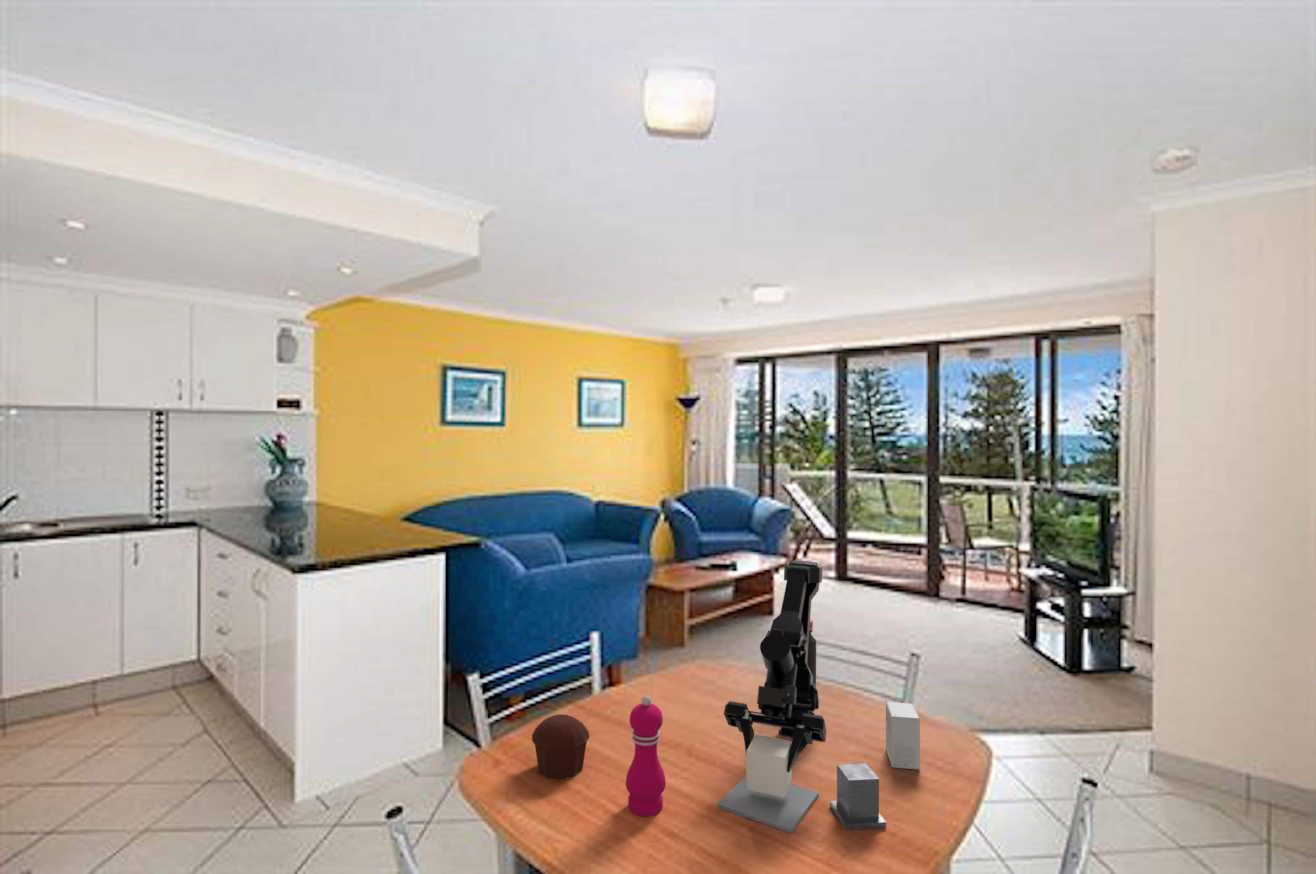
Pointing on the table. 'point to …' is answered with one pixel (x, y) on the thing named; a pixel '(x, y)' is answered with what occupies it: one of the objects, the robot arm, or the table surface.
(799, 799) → the mat
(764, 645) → the robot arm
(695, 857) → the table surface
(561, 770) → the muffin
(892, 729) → the small box
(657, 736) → the pepper mill
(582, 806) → the table surface
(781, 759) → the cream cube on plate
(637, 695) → the table surface
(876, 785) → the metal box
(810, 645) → the bottle
